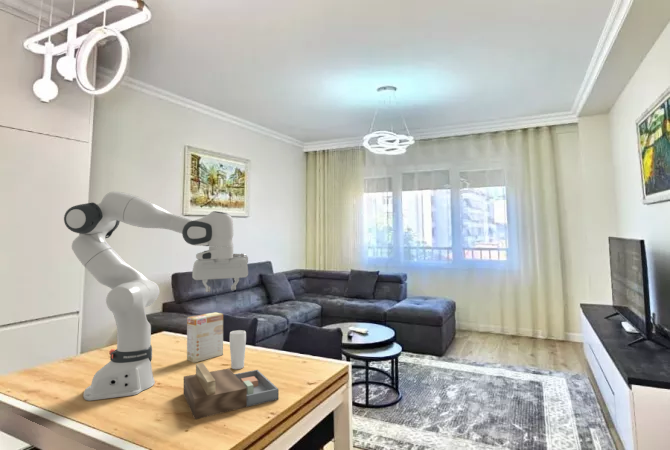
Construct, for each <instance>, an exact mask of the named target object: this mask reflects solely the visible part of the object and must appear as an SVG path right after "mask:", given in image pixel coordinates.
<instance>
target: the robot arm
mask: <svg viewBox="0 0 670 450" xmlns="http://www.w3.org/2000/svg"><path fill="white" fill-rule="evenodd" d="M63 222H64V225H65V226H66V228H67V229H68V230H70V231H71V232H73V233H76V234H78V236H76V237H75V238H74V240H73V241H72V243H71V249H72V252H73V253H74V255H75V257H76V258H77V259H78V260H79V262H80V263H81V264H82V265H83V267H84V268H85V269H86V270H87V272H89V273H90V274H91V275H92V276H93V277H94V278H95V280H97V281H98V283H99V284H101V285H103V286H105V287H108V288H109V289H111V290H110V291H109V292H108V293H107V296H106V299H105V304H106V307H107V308H108V310H109V311H111V313H112V314H113V317H114V320H115V321H114V322H115V324H116V325H115V326H116V337H117V339H116V341H117V343H116V345H117V346H116V349H114V348H111V349H110V350H109V352H108V353H109V355H110V357H109V358H110V361H109V362H108V363H106V364H105V365H104V366H103V367H101V368H100V369H99V370H98V371H96V372H95V374H94V375H93V377H92V380H91V385H89V386H88V387H86V388H85V389H84V392H83V399H84V400H86V401H89V402H90V401H98V400H106V399H113V398H119V397H122V398H123V397H127V396H128V397H129V396H135V395H138V394H140V393H141V392H143V391H145V390H147V389H150V388H151V387H152V386H154V385H155V383H156V381H155V378H154V374H153V368H152V360H153V347H152V345H151V340H152V339H151V337H152V334H151V333H152V325H151V322H149V321H148V318H147V314H146V308H147V307H149V306H151V305H153V304H154V303H155V302H156V301H157V299H158V298H159V296H160V293H161V292H160V287H159V284H158V283H156V282H155V281H153V280H150V278H147V277H146V276H144V274H142V273H141V272H139V271H138V270H136V269H135V268H134V267H132V266H131V265H130V264H128V262H126V261H125V260H124V259H123V257H121V256H120V254H118V252H117V251H115V249H114V247H112V246H111V245H110V244H109V243H108V242H107V240H106V239H108V238H110V237H111V236H112V234H113V233H114V232H115V230H117V228H118V226H119V225H120V222H122V223H124V224H127V225H129V226H133V227H138V228H142V229H143V228H144V229H162V230H163V229H164V230H169V231H173V232H176V233H179V234H182V238H183V240H184V241H185V243H187V244H189V245H191V246H203V247H208V249H207V250H204V251H202V252H201V251H200V252H197V253H196V254H195V258H196V259H197V260H195V261H194V262H193V267H192V274H191V275H192V277H191V278H192V279H193V280H195V281H202V284H203V286H204V287H205V293H210V292H211V286H209V285H208V284H207V283H208V280H223V279H233V280H234V282H233V284H230V290H231V291H236V290H237V285H238V283H239V282H240V278H241V279H242V278H247V277H248V275H249V266H248V263H249V256H248V255H246V254H245V253H234V243H233V237H234V223H233V217H232V216H231V215H230V214H229V213H227V212H223V211H217V210H216V211H215V210H214V211H211V212H210V213H208V214H207V215H205V216H203V217H201V218H197V219H195V220H191V219H189V218H185V217H183V216H179V215H176V214H174V213H172V212H170V211H168V210H166V209H165V208H163V207H161V206H159V205H158V204H155V203H154V202H151V201H150V200H147V199H146V198H143V197H140V196H137V195H134V194H130V193H126V192H121V191H115V190H114V191H110V192H108V193H107V194H105V195H104V196H103V198H102V200H101V202H100V203H95V202H88V203H82V204H77V205H73V206H71V207H69V208H68V209H67V210H66V211H65V213H64V215H63Z"/></svg>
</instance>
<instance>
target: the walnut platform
mask: <svg viewBox="0 0 670 450" xmlns="http://www.w3.org/2000/svg"><path fill="white" fill-rule="evenodd" d="M209 372H210V373H211V375H212V376H213V378H214V379H215V394H211V395H207V394H206V392H205V390H204V388H203V387H202V385H201V383H200V382H199V380H198V378H197V376H196V373H195V374H189V375H186V376H183V397H184V398H185V400H186V404H187V406H188V408H189V409H190V412H191V415H192V417H193V419H194V420H198V419H201V418H205V417H210V416H215V415H219V414H222V413H228V412H231V411H237V410H240V409H243V408H244V409H245V408H248V407H247V388H246V387H245V386H244V385H243V383H242V382H241V381H240V380H239V379H238V378H237V377H236V375H235V374H236V373H234V372H233V371H232V370H231V368H224V369H218V370H212V371H209Z"/></svg>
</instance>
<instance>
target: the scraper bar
mask: <svg viewBox="0 0 670 450" xmlns="http://www.w3.org/2000/svg"><path fill="white" fill-rule="evenodd" d="M210 372H211V371H209V369H208V368H207V366H206V365H205V363H204V362H200V363H195V374H196V376H197V378H198V380H199V382H200V383H201V385H202V387H203V388H204V390H205V392H206V394H207V395H211V394H215V379H214V378H213V376H212V375H211V373H210Z"/></svg>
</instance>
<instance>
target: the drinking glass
mask: <svg viewBox="0 0 670 450" xmlns="http://www.w3.org/2000/svg"><path fill="white" fill-rule="evenodd" d="M246 343H247V332H246V330H241V329H238V330H232V331H230V332H229V350H230V351H229V352H230V362H231V363H230V364H231V365H230V367H231V368H230V369H233V370H240V369H243V368H244V367H245V355H246Z"/></svg>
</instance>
